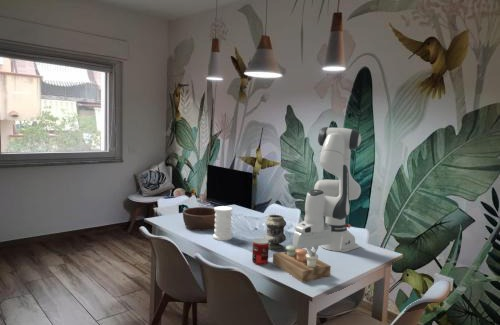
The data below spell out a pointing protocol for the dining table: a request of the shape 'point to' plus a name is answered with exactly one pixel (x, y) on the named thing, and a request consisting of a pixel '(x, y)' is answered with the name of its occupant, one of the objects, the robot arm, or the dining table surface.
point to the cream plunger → (311, 261)
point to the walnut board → (301, 267)
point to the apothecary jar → (275, 231)
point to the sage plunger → (290, 250)
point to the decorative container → (222, 223)
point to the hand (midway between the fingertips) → (312, 255)
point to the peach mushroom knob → (301, 254)
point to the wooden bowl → (199, 218)
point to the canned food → (260, 251)
